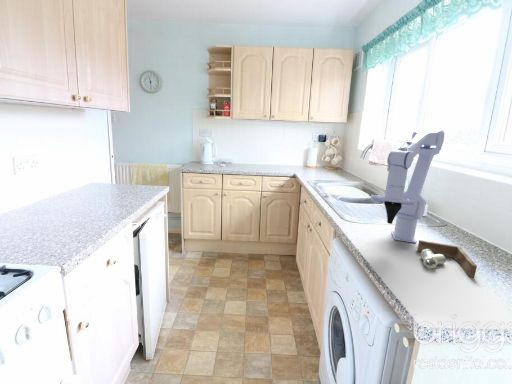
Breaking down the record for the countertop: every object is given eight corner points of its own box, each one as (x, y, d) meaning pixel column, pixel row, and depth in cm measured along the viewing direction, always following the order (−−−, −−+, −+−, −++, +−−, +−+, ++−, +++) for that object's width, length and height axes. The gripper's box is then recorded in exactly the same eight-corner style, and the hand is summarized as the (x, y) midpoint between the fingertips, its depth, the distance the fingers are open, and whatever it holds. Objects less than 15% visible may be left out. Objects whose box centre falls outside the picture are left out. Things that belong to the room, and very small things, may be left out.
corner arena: (417, 250, 104) (419, 240, 103) (457, 257, 100) (459, 246, 99) (426, 269, 90) (428, 257, 89) (474, 278, 86) (477, 266, 85)
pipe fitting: (442, 263, 96) (419, 257, 99) (445, 252, 95) (422, 247, 98) (447, 273, 89) (423, 267, 91) (451, 262, 88) (426, 256, 90)
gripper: (373, 185, 97) (368, 222, 100) (421, 190, 93) (414, 229, 96) (372, 181, 104) (367, 217, 107) (417, 186, 99) (410, 223, 102)
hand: (389, 222), depth 102 cm, fingers closed
